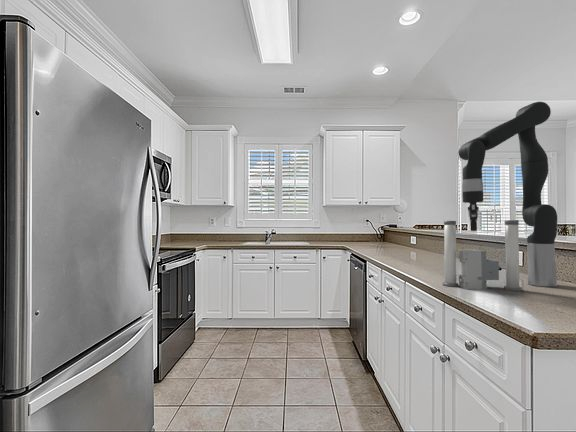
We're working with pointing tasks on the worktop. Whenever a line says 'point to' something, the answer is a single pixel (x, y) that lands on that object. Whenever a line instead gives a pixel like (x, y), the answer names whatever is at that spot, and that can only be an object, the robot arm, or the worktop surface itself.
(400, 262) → the worktop surface
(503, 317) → the worktop surface
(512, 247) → the post
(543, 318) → the worktop surface
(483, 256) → the circuit breaker
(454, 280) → the post
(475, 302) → the worktop surface
